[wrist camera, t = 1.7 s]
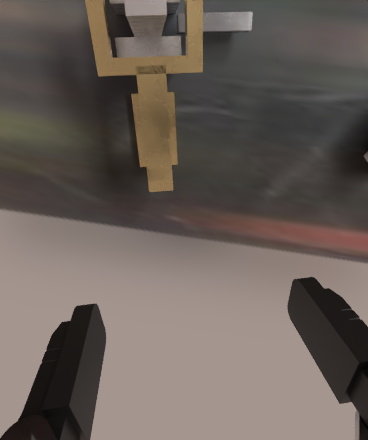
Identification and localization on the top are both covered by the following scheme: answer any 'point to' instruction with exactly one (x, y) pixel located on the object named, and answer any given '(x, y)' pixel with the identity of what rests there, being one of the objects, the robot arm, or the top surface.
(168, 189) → the square loop paddle
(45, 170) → the top surface
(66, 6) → the top surface
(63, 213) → the top surface
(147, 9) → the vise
